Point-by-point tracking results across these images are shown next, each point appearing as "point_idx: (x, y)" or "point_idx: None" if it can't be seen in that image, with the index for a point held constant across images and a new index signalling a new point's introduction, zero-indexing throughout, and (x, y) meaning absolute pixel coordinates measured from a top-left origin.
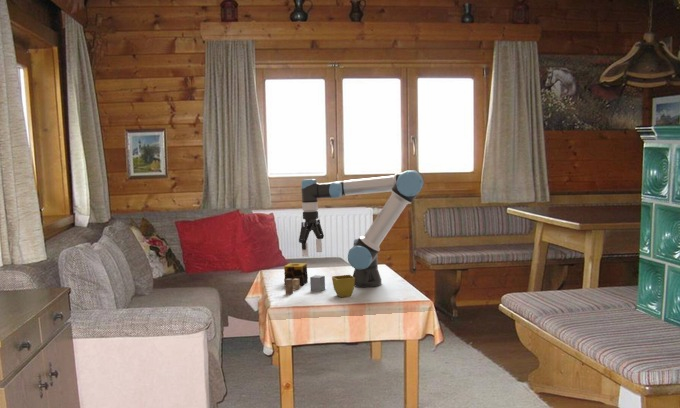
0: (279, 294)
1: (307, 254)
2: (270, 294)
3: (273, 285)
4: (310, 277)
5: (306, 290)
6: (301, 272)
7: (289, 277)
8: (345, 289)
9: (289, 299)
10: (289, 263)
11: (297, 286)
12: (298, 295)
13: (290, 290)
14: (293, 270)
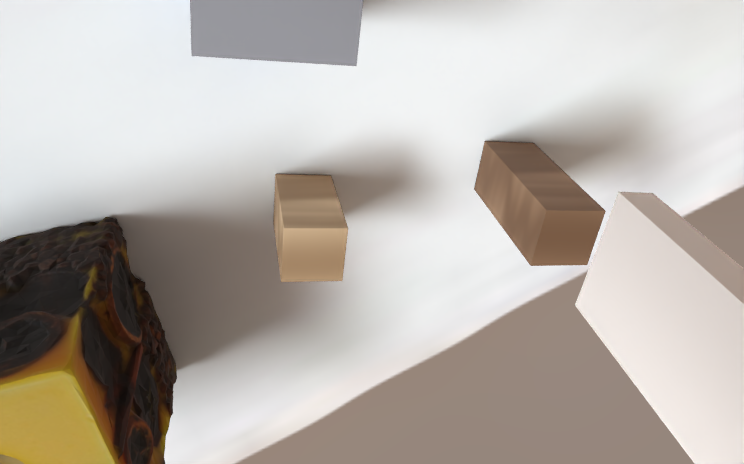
0: None
1: (667, 217)
2: (543, 290)
3: (209, 438)
4: (355, 60)
5: (327, 72)
6: (83, 322)
7: (148, 390)
8: None
9: (733, 50)
10: None
11: (327, 191)
12: (570, 44)
13: (543, 157)
14: (127, 414)
